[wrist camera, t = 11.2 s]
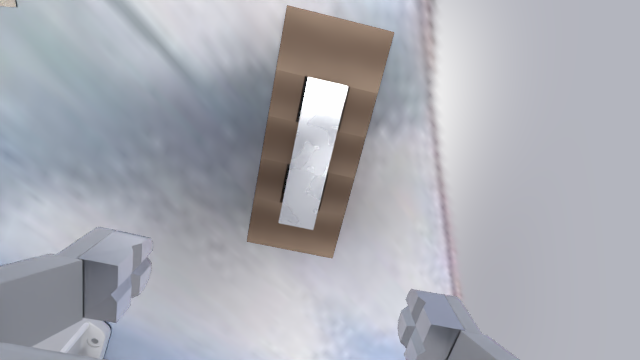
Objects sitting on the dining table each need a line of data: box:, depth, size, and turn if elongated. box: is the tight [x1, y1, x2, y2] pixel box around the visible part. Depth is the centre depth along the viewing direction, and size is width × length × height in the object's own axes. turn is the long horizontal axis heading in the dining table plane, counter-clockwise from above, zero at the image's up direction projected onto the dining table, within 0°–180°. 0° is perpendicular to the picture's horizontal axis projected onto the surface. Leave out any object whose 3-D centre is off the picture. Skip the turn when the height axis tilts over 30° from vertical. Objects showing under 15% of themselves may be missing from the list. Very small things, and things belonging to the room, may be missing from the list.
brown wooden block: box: [247, 5, 394, 258], centre depth 30 cm, size 22×9×3 cm, turn 167°
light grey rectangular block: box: [279, 77, 348, 230], centre depth 28 cm, size 12×3×8 cm, turn 167°
